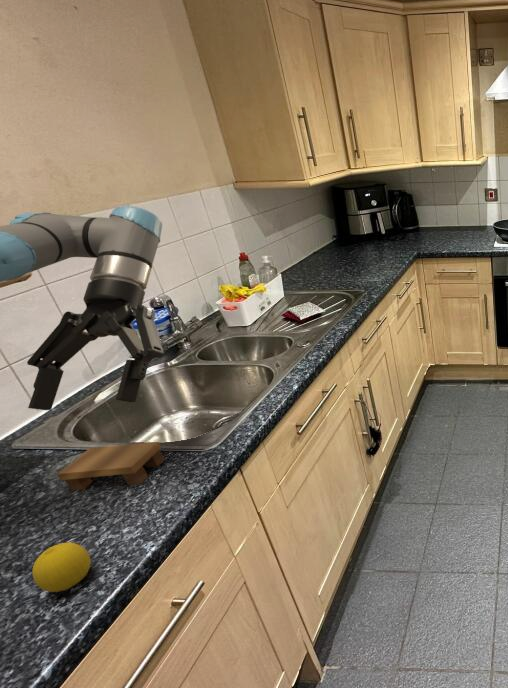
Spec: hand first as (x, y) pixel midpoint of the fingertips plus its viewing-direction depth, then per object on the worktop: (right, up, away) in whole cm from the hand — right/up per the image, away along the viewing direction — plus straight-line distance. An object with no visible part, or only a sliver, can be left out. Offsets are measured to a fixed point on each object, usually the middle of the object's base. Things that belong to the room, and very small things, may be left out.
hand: (82, 405), depth 65 cm
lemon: (+2, -27, -3) cm, 27 cm away
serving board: (-11, -19, +18) cm, 28 cm away
